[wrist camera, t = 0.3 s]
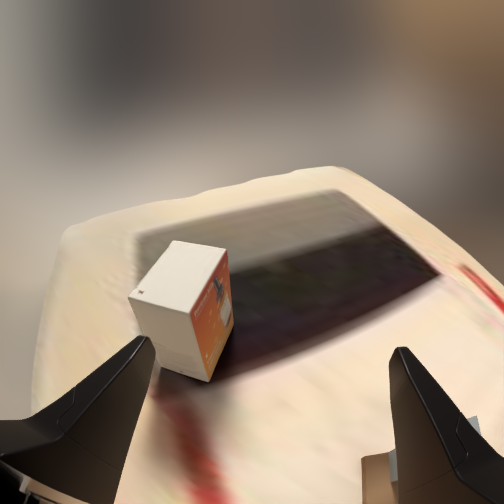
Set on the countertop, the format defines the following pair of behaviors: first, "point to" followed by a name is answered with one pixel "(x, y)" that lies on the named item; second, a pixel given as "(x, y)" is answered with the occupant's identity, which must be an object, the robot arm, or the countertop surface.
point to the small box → (186, 308)
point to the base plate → (378, 480)
